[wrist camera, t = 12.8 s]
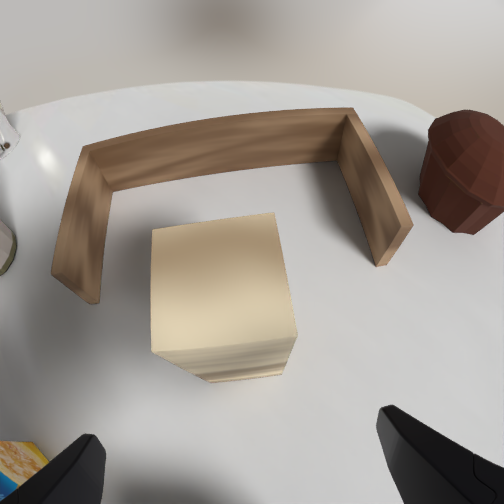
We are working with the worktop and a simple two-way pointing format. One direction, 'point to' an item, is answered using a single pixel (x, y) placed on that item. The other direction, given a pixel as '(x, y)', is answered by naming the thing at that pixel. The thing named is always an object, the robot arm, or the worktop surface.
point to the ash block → (222, 298)
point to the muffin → (464, 171)
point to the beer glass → (7, 135)
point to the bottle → (6, 247)
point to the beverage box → (18, 464)
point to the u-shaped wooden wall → (218, 161)
